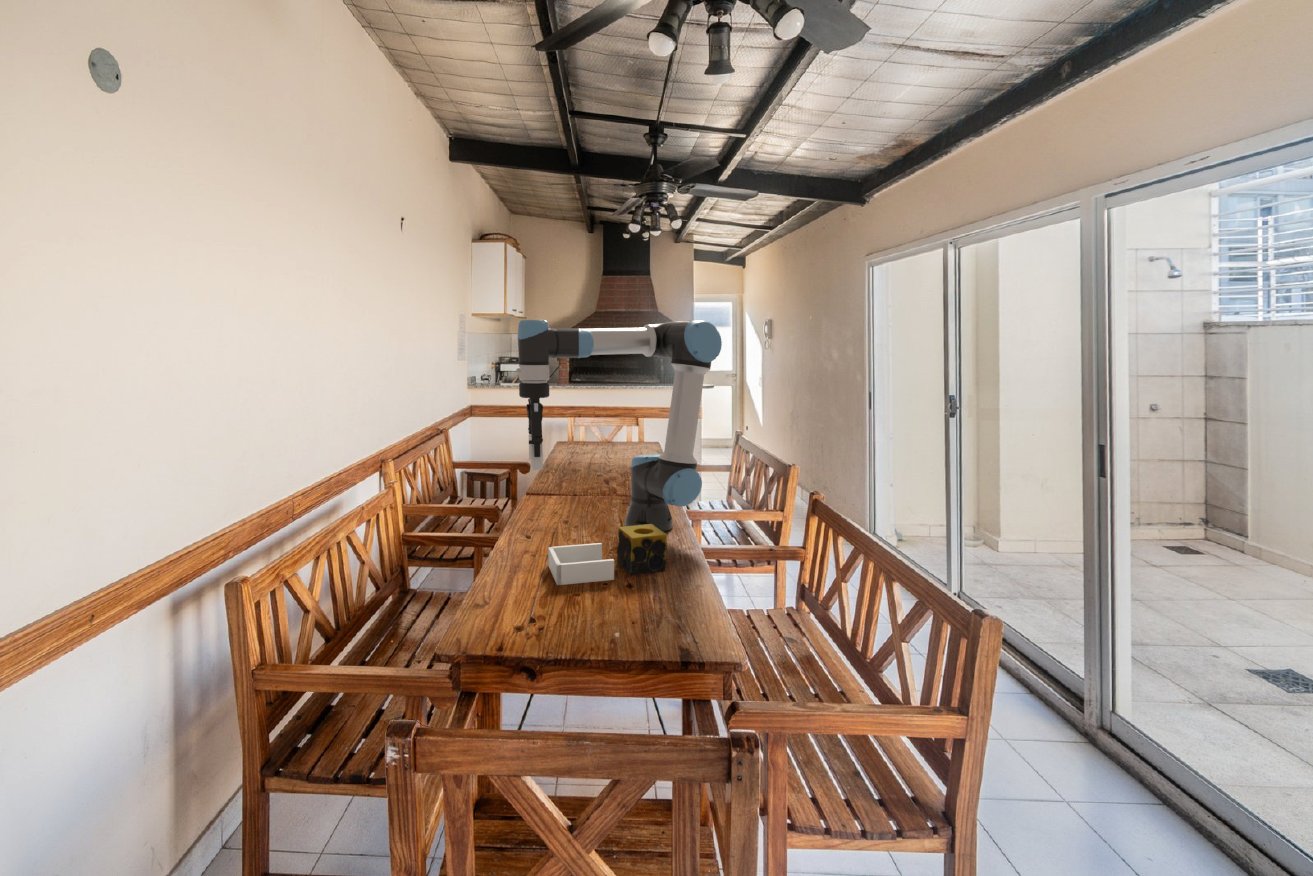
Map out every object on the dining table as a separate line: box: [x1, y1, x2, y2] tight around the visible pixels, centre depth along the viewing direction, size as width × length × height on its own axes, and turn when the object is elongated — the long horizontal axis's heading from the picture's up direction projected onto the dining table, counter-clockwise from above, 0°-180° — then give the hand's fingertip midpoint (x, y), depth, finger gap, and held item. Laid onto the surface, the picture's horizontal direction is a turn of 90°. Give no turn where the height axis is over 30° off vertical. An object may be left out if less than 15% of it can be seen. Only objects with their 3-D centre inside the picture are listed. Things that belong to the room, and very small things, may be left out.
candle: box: [616, 524, 668, 576], centre depth 165 cm, size 10×10×10 cm
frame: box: [547, 542, 615, 586], centre depth 160 cm, size 14×14×5 cm
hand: (535, 464), depth 164 cm, fingers open, 13 cm apart
